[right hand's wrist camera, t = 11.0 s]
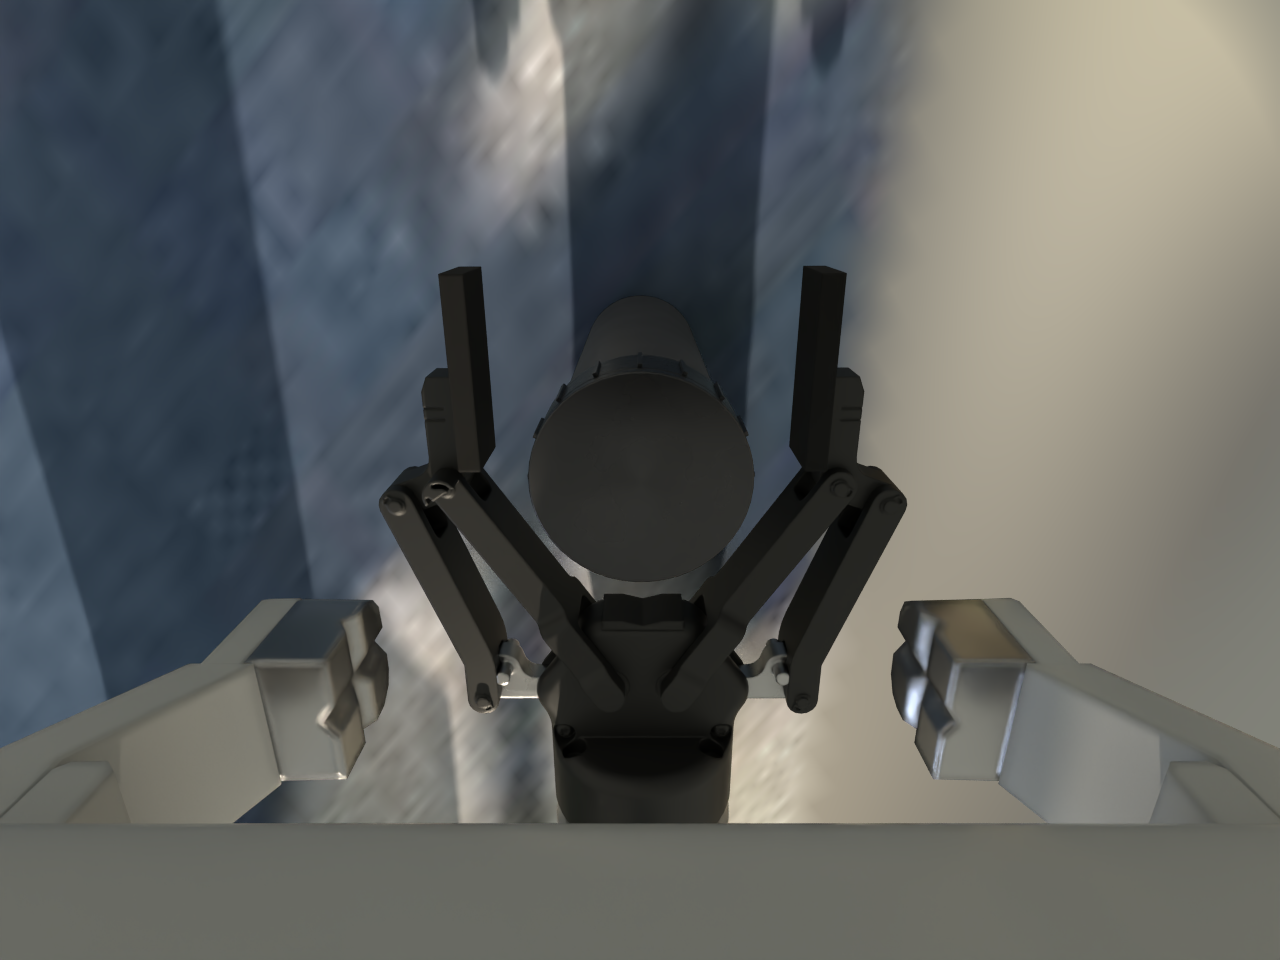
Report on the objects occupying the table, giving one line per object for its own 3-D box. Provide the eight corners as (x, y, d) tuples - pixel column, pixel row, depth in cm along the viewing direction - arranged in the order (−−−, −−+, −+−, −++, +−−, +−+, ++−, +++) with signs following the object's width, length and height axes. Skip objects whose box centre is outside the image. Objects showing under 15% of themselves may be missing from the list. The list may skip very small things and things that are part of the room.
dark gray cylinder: (655, 421, 32) (668, 596, 18) (567, 365, 31) (505, 502, 17) (715, 334, 30) (780, 449, 16) (624, 273, 29) (609, 338, 15)
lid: (669, 581, 19) (671, 619, 17) (500, 483, 18) (485, 513, 16) (786, 426, 18) (802, 451, 16) (608, 310, 17) (604, 323, 15)
